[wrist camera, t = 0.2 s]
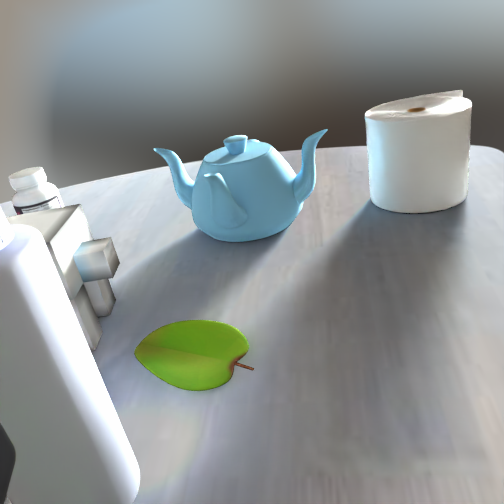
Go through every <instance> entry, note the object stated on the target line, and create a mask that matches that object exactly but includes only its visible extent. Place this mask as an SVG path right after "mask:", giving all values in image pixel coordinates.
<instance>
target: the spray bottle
mask: <svg viewBox="0 0 504 504" xmlns="http://www.w3.org/2000/svg"><path fill="white" fill-rule="evenodd" d="M0 423H1V424H2V426H3V428H4V430H5V431H6V433H7V435H8V437H9V438H10V440H11V442H12V443H13V445H14V447H15V451H16V461H15V465H14V469H13V473H12V476H11V480H10V484H9V487H8V491H7V496H8V498H9V499H10V501H11V503H12V504H133V503H134V500H135V498H136V496H137V493H138V489H139V484H140V471H139V467H138V463H137V461H136V459H135V456H134V454H133V451H132V449H131V447H130V444H129V442H128V439H127V437H126V435H125V432H124V430H123V428H122V425H121V423H120V420H119V418H118V416H117V413H116V411H115V408H114V406H113V404H112V401H111V399H110V397H109V394H108V392H107V389H106V387H105V385H104V382H103V380H102V377H101V375H100V373H99V370H98V368H97V366H96V363H95V361H94V358H93V356H92V354H91V351H90V349H89V346H88V344H87V342H86V339H85V337H84V335H83V332H82V330H81V327H80V325H79V323H78V320H77V318H76V315H75V313H74V311H73V308H72V306H71V304H70V301H69V299H68V296H67V294H66V292H65V289H64V287H63V285H62V282H61V280H60V277H59V275H58V273H57V270H56V268H55V265H54V263H53V261H52V258H51V256H50V254H49V251H48V249H47V246H46V244H45V242H44V239H43V237H42V235H41V233H40V232H39V231H38V230H37V229H35V228H33V227H30V226H26V225H9V223H8V221H7V219H6V217H5V215H4V213H3V212H2V210H1V208H0Z"/></svg>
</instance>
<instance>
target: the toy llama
mask: <svg viewBox="0 0 504 504" xmlns="http://www.w3.org/2000/svg"><path fill="white" fill-rule="evenodd" d="M6 219H7V221H8V223H9V225H26V226H30V227H33V228H35V229H37V230H38V231H39V232H40V233H41V235H42V237H43V239H44V242H45V244H46V246H47V249H48V251H49V254H50V256H51V258H52V261H53V263H54V265H55V268H56V270H57V273H58V275H59V277H60V280H61V282H62V285H63V287H64V289H65V292H66V294H67V296H68V299H69V301H70V304H71V306H72V308H73V311H74V313H75V315H76V318H77V320H78V323H79V325H80V327H81V330H82V332H83V335H84V337H85V339H86V342H87V344H88V346H89V349H90V351H94V350H95V349H96V347H97V344H98V342H99V340H100V337H101V335H102V332H103V331H102V328H101V326H100V323H99V321H98V318H97V317H101V316H107V315H110V313H111V311H112V308H113V306H114V303H115V301H116V299H115V296H114V293H113V291H112V288H111V285H110V282H109V280H108V278H113V277H114V275H115V272H116V270H117V268H118V266H119V264H120V262H119V259H118V256H117V253H116V251H115V248H114V245H113V242H112V239H111V237H109V238H103V239H97V240H94V239H93V236H92V233H91V231H90V228H89V225H88V223H87V220H86V217H85V214H84V212H83V209H82V206H81V204H77V205H71V206H66V207H60V208H54V209H49V210H43V211H38V212H32V213H26V214H21V215H15V216H10V217H6Z"/></svg>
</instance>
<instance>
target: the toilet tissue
mask: <svg viewBox="0 0 504 504" xmlns="http://www.w3.org/2000/svg"><path fill="white" fill-rule="evenodd" d="M471 106H472V104H471V102H470V100H468V99H465V98H462V90H457V91H450V92H442V93H433V94H430V95H420V96H417V97H412V98H407V99H402V100H397V101H393V102H389V103H385V104H382V105H379V106H376V107H374V108H371V109H370V110H368V111H367V112H366V114H365V120H366V132H367V133H366V136H367V152H368V164H369V170H368V172H369V183H370V185H369V186H370V196H371V201H372V202H373V203H374V204H375V205H376V206H378V207H380V208H382V209H385V210H389V211H394V212H402V213H424V212H432V211H438V210H446V209H448V208H449V207H453V206H456V205H458V204H460V203H461V202H462V201H463V200H464V199H465V198H466V197H467V194H468V184H469V183H468V177H469V176H468V173H469V160H470V158H469V150H470V131H471V129H470V126H471V123H470V121H471Z"/></svg>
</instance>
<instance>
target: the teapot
mask: <svg viewBox="0 0 504 504" xmlns="http://www.w3.org/2000/svg"><path fill="white" fill-rule="evenodd" d="M326 131H327V129H325V130H322V131H320V132H317V133H315V134H313V135H311V136H309V137H308V138H307V139H306V140H305V141H304V144H303V146H302V168H301V171H300V173H299V174H298V175H297V176H296V175H295V173H294V172H293V170H292V168H291V167H290V166H289V164H288V163H287V162H286V161H285V160H284V158H283V157H282V156H281V155H280V154H279V153H278V151H276V150H275V149H274V148H273V147H272V146H271V145H269V144H267V143H263V142H259V141H258V140H253V139H251V140H247V136H243V135H238V136H232V137H229V138H226V139H225V140H224V141H223V142H224V144H225V146H226V147H223V148H220V149H217V150H215V151H212V152H211V153H209V154H208V155H207V156H206V157H205V158H204V159H203V162H202V164H201V166H200V169H199V171H198V174H197V177H196V180H195V182H193V181H192V180H191V179H190V178H189V177H188V175H187V173H186V171H185V169H184V167H183V164H182V162H181V160H180V159H179V157H178V156H177V155H176V154H175V153H174V152H172V151H170V150H167V149H162V148H155V149H154V151H156V152H157V153H158V154H160V155H161V156H162V157H163V158H164V159H165V160H166V161H167V163H168V165H169V167H170V170H171V173H172V178H173V183H174V187H175V190H176V193H177V195H178V197H179V199H180V200H181V201H182V202H183V203H184V205H186V206H187V207H188V208H190V209H191V210H192V216H193V220H194V223H195V224H196V226H197V227H198V228H199V229H200V230H202V231H203V232H204V233H206V234H207V235H209V236H211V237H212V238H214V239H217V240H220V241H226V242H245V241H252V240H257V239H261V238H265V237H268V236H271V235H274V234H276V233H278V232H280V231H282V230H284V229H285V228H287V227H288V226H289V225H290V224H291V223H292V222H293V221H294V219H295V218H296V217H297V215H298V214H299V212H300V210H301V208H302V206H303V201H304V200H305V199H306V198H308V197H309V195H310V194H311V192H312V191H313V188H314V185H315V180H316V168H315V149H316V145H317V143H318V141H319V139H320V138H321V137H322V136H323V134H324V133H325V132H326Z"/></svg>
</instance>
